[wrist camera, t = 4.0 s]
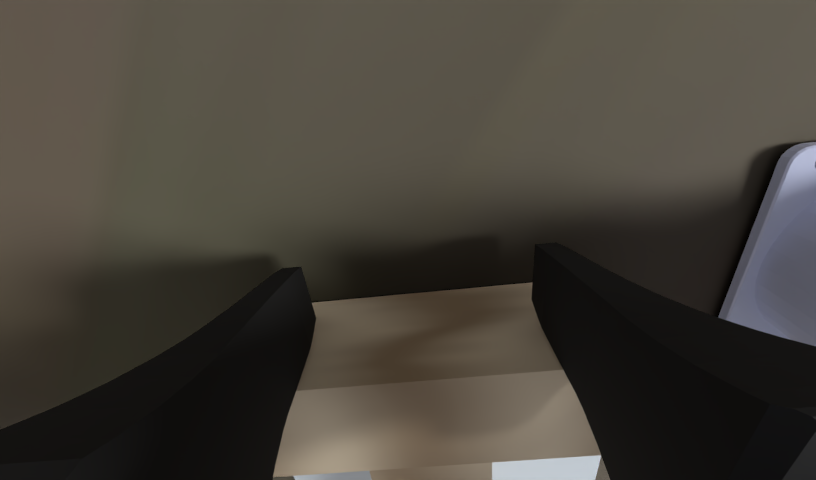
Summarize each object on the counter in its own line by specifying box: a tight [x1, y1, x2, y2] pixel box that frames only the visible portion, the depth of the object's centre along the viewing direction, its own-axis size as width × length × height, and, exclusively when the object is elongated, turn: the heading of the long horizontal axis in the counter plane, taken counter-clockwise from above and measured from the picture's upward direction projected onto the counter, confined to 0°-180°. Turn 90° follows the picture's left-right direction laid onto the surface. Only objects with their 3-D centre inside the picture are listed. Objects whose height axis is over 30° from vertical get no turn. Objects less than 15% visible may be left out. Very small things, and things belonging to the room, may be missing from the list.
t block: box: [273, 282, 601, 480], centre depth 14 cm, size 12×12×4 cm
